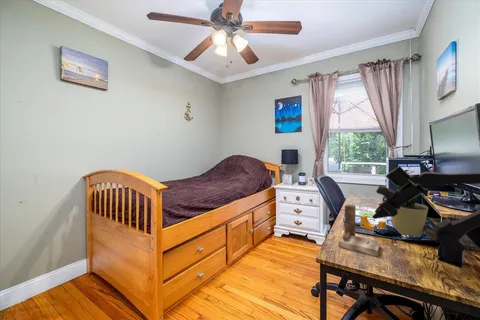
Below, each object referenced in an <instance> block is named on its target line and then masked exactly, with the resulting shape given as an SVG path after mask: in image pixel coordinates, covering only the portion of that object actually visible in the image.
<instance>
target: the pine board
mask: <svg viewBox="0 0 480 320" xmlns="http://www.w3.org/2000/svg"><path fill="white" fill-rule="evenodd" d="M344 235H345V232H344V233H343V234H341V237H340V238H339V239H338V242H337V245H338V247H340V248H343V249H348V250H351V251H354V252H355V251H356V252H360V253H363V254H368V255H370V256H374V257H378V256H379V253H380V252H379V251H380V247H381V241H380V240H375V239H371V238H370V239H369V238H366V237H362V236H357V235H355V236H353V235H350V237H349V239H348V240H343V236H344Z"/></svg>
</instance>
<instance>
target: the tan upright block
mask: <svg viewBox="0 0 480 320" xmlns="http://www.w3.org/2000/svg"><path fill="white" fill-rule="evenodd" d="M344 234H345V235H344V236H343V240H348V239H349V237H350V235H353V236H356V205H355V204H354V205H353V204H349V203H348V204H346V205H344Z"/></svg>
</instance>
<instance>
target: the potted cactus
mask: <svg viewBox="0 0 480 320" xmlns="http://www.w3.org/2000/svg"><path fill="white" fill-rule="evenodd" d="M409 180H410V179H409ZM410 181H411V180H410ZM411 182H413V181H411ZM408 183H409V182H407V183H405V184H404V185H402V186H399V185H397V186H396V187H397V189H396V190H399V189H400V188H402V187H403V186H405V185H406V184H408ZM413 183H414V184H415V185H416V184H419V185H420V186H422V185H421V184H420V183H415V182H413ZM417 200H418V197H415V198H413V199H412V200H410V201H409V203H406V204H404V205H402V206H401V207H400V209H398V214H397V215H396V216H394V217H393V216H392V217H391V225H392V228H393V227H394V228H395V229H396V230H397V231H398V232H399V233H400V234H401V235H409V236H419V235H422V236H423V232H424V231H423V229H424V225H425V223H426V220H427V215H428V211H429V207H428V206H427V205H424V204H422V203H421V204H419V203H417Z"/></svg>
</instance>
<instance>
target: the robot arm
mask: <svg viewBox="0 0 480 320" xmlns="http://www.w3.org/2000/svg"><path fill="white" fill-rule="evenodd" d="M385 178H387V179H388V180H389V181H390V182H391V183H392V184H393V185H395V186H396V187H397V185H399V186H402V185H404V184H405V183H407V182H409V183H408V184H406V185H405V186H403V187H402V188H400V189H399V190H397V189H395V190H393V189H391V188H388V187H386V186H385V185H382V184H379V186H378V188H377V189H376V190H375V193H377V194H378V195H382V196H383V197H382V202H381V203H380V205H379V206H378V207H377V208H376V209H375V210H374V214H373V215H372V218H373V219H374V220H375V219H380V218H389V217H392V216H393V217H394V216H396V215H397V214H398V209H400V207H401V206H402V205H404V204H406V203H409V201H410V200H412V199H413V198H415V197H416V198H418V197H419V196H420V195H421V194H422V195H423V196H425V197H427V198H428V197H429V196H428V194H429V189H431V188H438V187H443V186H447V185H469V184H470V185H471V184H480V172H462V173H461V172H459V173H446V172H436V171H423V172H421V173H420V174H409V173H407V171H406V170H404V169H403V167H401V166H398V167H395V168H394V169H393V170H391V171H390V172H389V173H387V174H386V175H385ZM409 179H410V180H411V181H413V182H415V183H419V184H416V185H415V184H414V183H413V182H411V181H410V180H409ZM420 184H421V185H420ZM479 227H480V209H478V210H476V211H474V212H472V213H470V214H467V215H465V216H463V217H461V218H460V219H457V220H450V219H449V217H448V218H445V219H444V220H442V221H440V222H437V223H436V226H434V229H435V233H436V236H437V238H438V239H437V241H438V240H439V241H440V243H439V246H437V260H438V261H440V262H443V263H447V264H449V265H451V266H452V265H453V266H456V267H459V268H462V267H463V266H464V265H465V264H466V260H465V253H466V251H465V249H466V246H465V244H464V242H463V240H462V238H463V237H464V236H465V235H466V234H467V233H468V232H469V231H472V230H474V229H476V228H479Z"/></svg>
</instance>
